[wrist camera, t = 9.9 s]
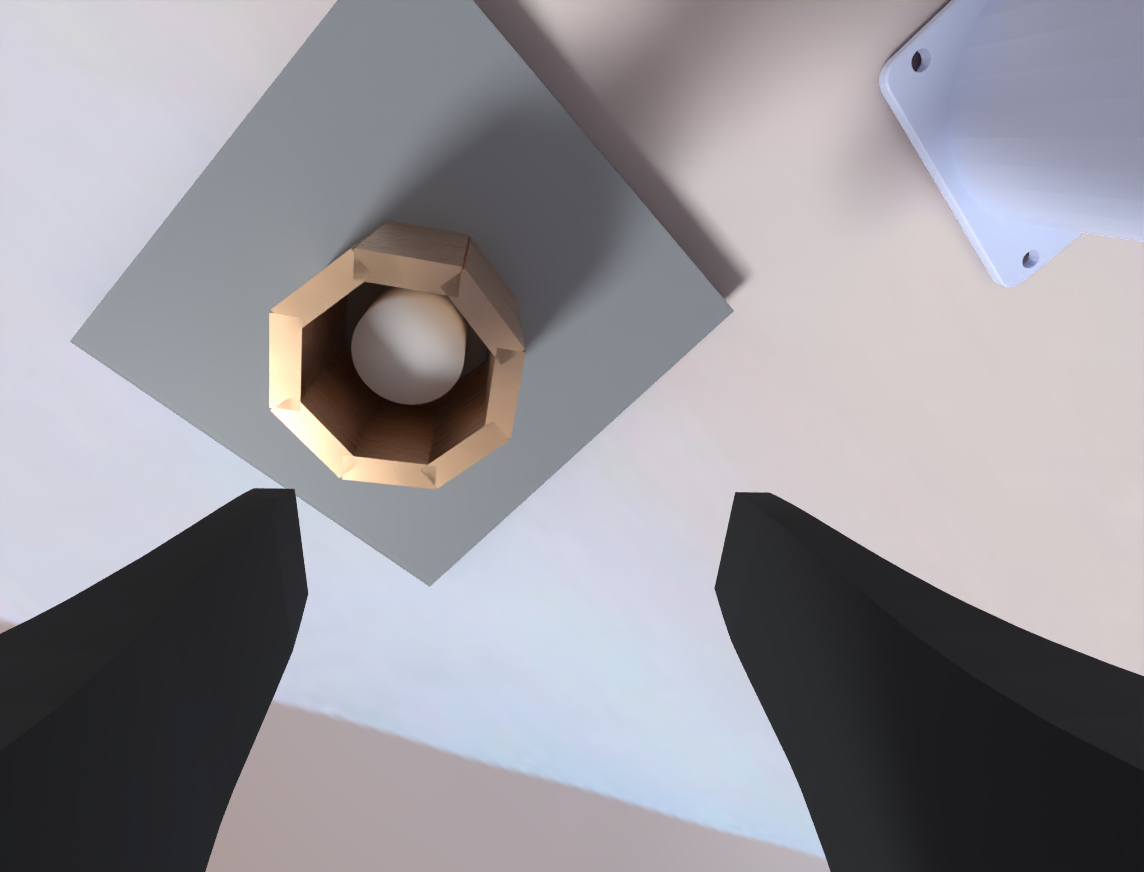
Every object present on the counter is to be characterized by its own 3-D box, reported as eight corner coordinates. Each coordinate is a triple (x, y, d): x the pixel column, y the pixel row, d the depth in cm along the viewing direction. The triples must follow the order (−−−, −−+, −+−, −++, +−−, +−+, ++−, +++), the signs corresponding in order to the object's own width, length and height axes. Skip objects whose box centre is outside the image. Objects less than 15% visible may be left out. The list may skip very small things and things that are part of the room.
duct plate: (408, -69, 14) (385, -128, 11) (722, 302, 19) (769, 335, 16) (92, 330, 17) (1, 373, 14) (432, 568, 22) (422, 641, 18)
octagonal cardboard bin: (327, 208, 15) (269, 232, 11) (525, 245, 16) (538, 280, 12) (320, 394, 17) (269, 471, 13) (498, 418, 18) (500, 496, 14)
